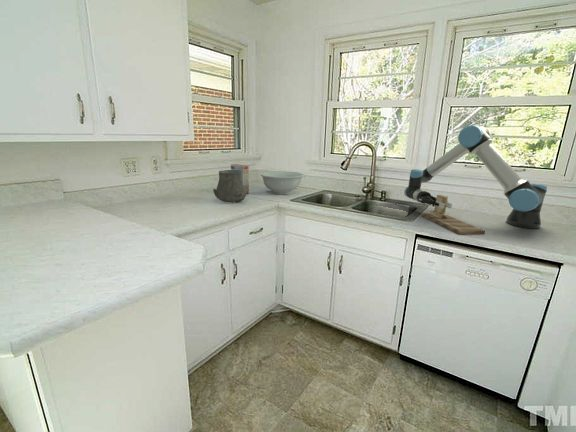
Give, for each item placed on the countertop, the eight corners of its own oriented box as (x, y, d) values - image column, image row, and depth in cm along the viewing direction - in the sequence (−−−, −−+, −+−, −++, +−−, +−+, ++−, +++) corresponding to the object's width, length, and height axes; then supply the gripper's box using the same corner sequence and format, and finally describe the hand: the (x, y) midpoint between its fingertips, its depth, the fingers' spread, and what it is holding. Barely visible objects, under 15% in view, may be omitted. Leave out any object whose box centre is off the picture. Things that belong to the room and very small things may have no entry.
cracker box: (249, 193, 216) (249, 165, 210) (242, 194, 212) (242, 166, 206) (237, 190, 225) (236, 163, 219) (230, 191, 221) (230, 164, 215)
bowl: (260, 188, 238) (260, 170, 234) (299, 188, 242) (300, 171, 237) (261, 197, 207) (261, 176, 203) (305, 197, 211) (306, 177, 207)
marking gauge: (437, 213, 172) (441, 194, 169) (450, 219, 162) (454, 198, 158) (429, 213, 171) (433, 194, 168) (442, 219, 161) (446, 198, 158)
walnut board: (420, 215, 173) (421, 213, 172) (442, 215, 175) (442, 212, 174) (459, 234, 142) (460, 231, 142) (484, 233, 145) (485, 230, 144)
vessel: (225, 207, 178) (224, 174, 172) (209, 200, 193) (207, 170, 188) (254, 202, 191) (254, 172, 186) (237, 196, 207) (236, 168, 202)
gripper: (433, 202, 185) (459, 212, 163) (408, 202, 182) (432, 212, 160) (435, 190, 183) (462, 199, 161) (410, 190, 180) (434, 199, 158)
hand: (447, 206), depth 160 cm, fingers closed on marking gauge, 4 cm apart
